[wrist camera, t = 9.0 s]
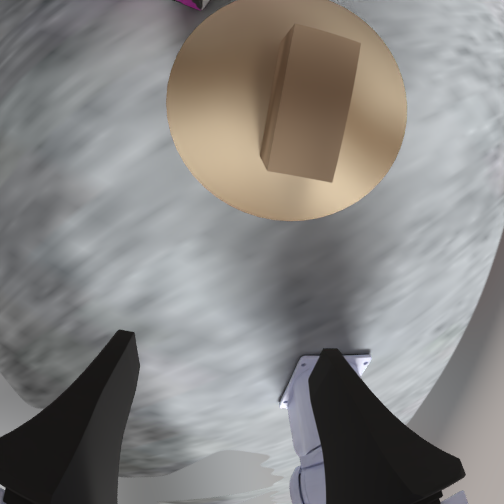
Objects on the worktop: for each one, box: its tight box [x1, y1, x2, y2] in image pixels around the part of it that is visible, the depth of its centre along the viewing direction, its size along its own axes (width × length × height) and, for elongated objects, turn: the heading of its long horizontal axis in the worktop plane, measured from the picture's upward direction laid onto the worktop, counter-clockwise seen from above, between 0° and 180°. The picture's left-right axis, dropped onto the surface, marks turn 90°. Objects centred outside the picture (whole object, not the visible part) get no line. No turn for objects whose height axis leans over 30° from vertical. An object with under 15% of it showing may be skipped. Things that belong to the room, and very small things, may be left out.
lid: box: [166, 0, 407, 221], centre depth 9 cm, size 10×10×4 cm
